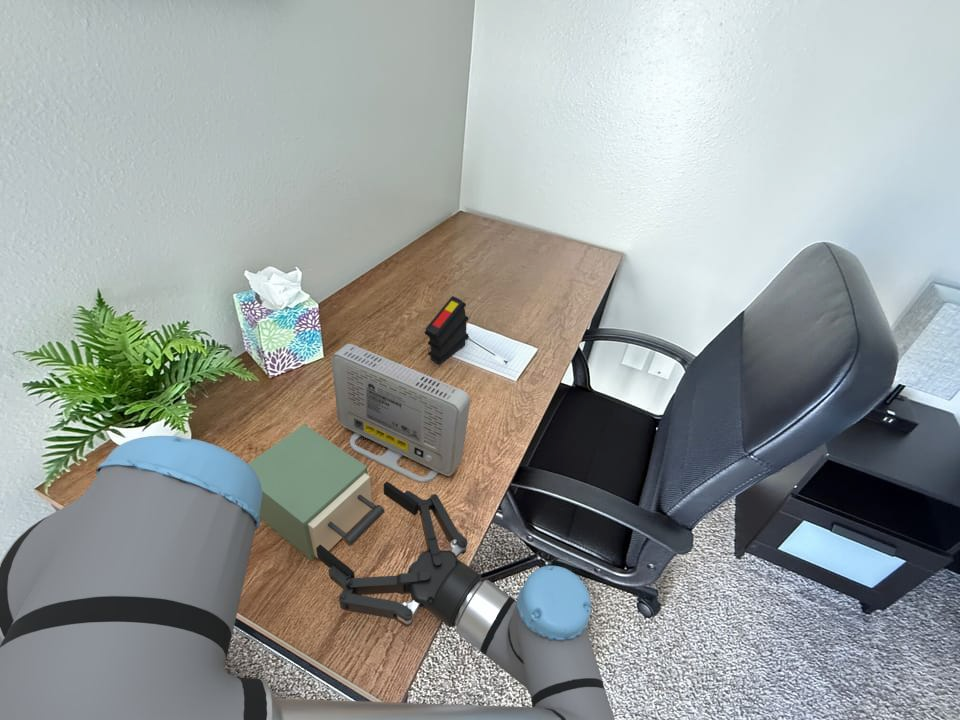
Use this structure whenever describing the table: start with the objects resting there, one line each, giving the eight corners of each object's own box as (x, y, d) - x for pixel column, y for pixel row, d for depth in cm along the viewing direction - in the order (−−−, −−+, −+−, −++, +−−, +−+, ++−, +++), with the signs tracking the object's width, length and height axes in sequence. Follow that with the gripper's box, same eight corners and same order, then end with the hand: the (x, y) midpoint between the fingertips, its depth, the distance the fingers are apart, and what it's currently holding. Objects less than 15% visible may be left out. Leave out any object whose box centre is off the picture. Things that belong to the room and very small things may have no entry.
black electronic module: (474, 335, 120) (464, 300, 108) (445, 374, 116) (431, 342, 103) (463, 329, 122) (451, 294, 109) (433, 367, 117) (418, 335, 104)
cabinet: (369, 505, 80) (367, 466, 74) (311, 561, 72) (303, 523, 65) (311, 463, 86) (304, 423, 79) (250, 510, 77) (237, 471, 70)
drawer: (394, 524, 77) (394, 492, 72) (343, 579, 69) (338, 548, 64) (316, 468, 84) (311, 435, 78) (261, 512, 76) (251, 479, 71)
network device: (466, 462, 90) (477, 386, 78) (444, 495, 84) (452, 418, 71) (357, 412, 97) (352, 334, 85) (329, 439, 91) (319, 359, 78)
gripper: (407, 703, 56) (289, 596, 64) (511, 548, 73) (407, 479, 81) (408, 681, 51) (281, 569, 59) (519, 521, 69) (408, 451, 76)
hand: (354, 517), depth 70 cm, fingers open, 13 cm apart
